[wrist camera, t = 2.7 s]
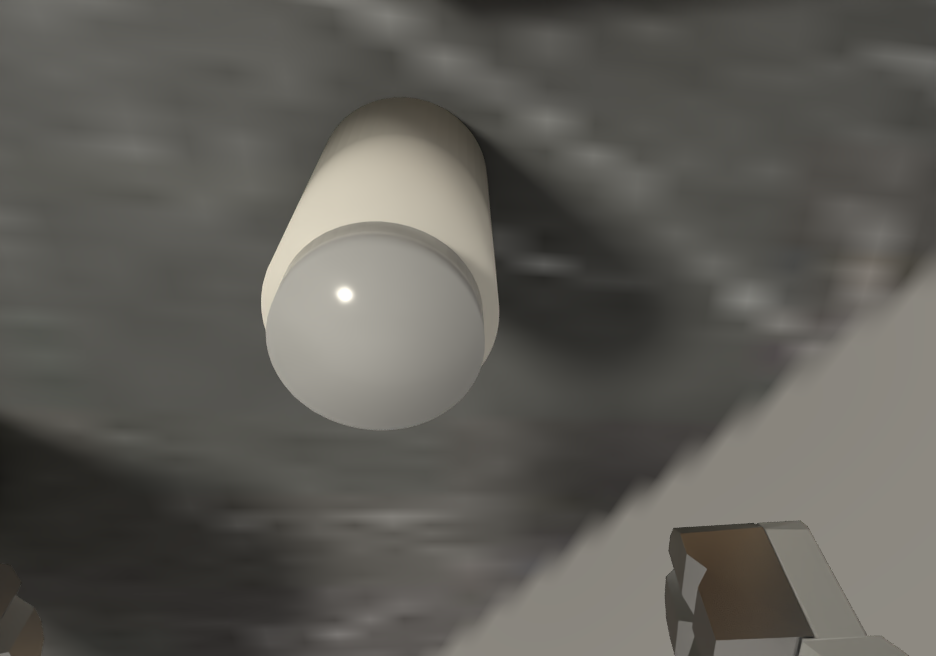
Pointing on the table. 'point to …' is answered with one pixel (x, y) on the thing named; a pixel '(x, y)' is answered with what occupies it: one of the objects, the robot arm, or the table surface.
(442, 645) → the table surface
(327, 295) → the salt shaker
